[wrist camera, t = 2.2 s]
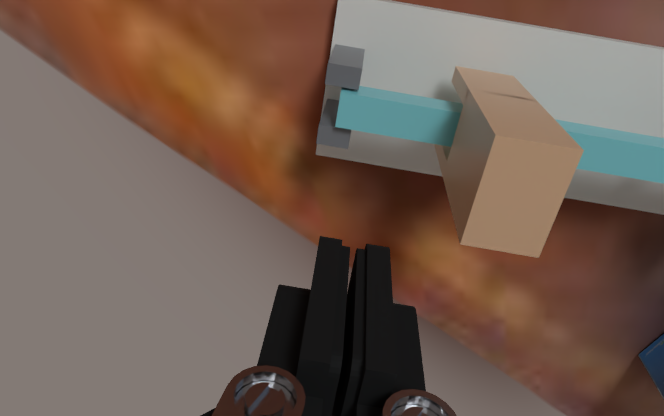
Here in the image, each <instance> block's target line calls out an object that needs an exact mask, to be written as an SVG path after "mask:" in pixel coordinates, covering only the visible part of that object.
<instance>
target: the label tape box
mask: <svg viewBox="0 0 664 416" xmlns="http://www.w3.org/2000/svg"><path fill="white" fill-rule="evenodd" d="M638 356H639V358H640V360H641V361H642V363H643V365H644V367H645V368H646V370H647V372H648V373H649V375H650V377H651V378H652V380H653V382H654V384H655V385H656V387H657V389H658V390H659V392H660V394H661V395H662V397H663V399H664V334H663V335H661V336H660V337H659V338H658V339H657V340H656V341H654V342H653V343H652V344H651V345H650V346H648V347H647V348H646V349H645V350H643V351H642V352H641V353H640V354H639V355H638Z"/></svg>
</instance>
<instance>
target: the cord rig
mask: <svg viewBox="0 0 664 416" xmlns="http://www.w3.org/2000/svg"><path fill="white" fill-rule="evenodd" d="M455 66H459V67H465V68H471V69H476V70H482V71H488V72H494V73H500V74H505V75H511V76H514V77H515V78H516V79H517V80H518V81H519V82H520V83H521V84H522V85H523V86H524V88H525V89H526V90H527V91H528V92H529V93H530V94H531V95H532V96H533V97H534V98H535V99H536V100H537V101H538V102H539V103H540V104H541V105H542V107H543V108H544V109H545V110H546V111H547V112H548V113H549V114H550V115H551V116H552V117H553V118H554V119H555V120H556V121H557V122H558V123H559V124H560V126H561V127H562V128H563V129H564V130H565V131H566V132H567V133H568V134H569V135H570V136H571V137H572V138H573V139H574V140H575V141H576V142H577V143H578V145H579V146H580V147H581V148H582V149H583V150H584V151H583V154H582V156H581V158H580V161H579V163H578V166H577V168H576V170H575V173H574V175H573V178H572V180H571V182H570V185H569V187H568V189H567V192H566V194H565V197H564V198H570V199H576V200H581V201H587V202H593V203H599V204H605V205H610V206H616V207H622V208H628V209H634V210H639V211H645V212H651V213H657V214H663V215H664V47H658V46H653V45H647V44H641V43H635V42H629V41H623V40H618V39H612V38H606V37H600V36H594V35H589V34H583V33H577V32H571V31H565V30H560V29H554V28H548V27H542V26H536V25H531V24H525V23H519V22H513V21H507V20H502V19H496V18H490V17H484V16H478V15H472V14H467V13H461V12H455V11H449V10H443V9H438V8H432V7H426V6H420V5H414V4H409V3H403V2H397V1H391V0H338V4H337V11H336V18H335V25H334V31H333V38H332V45H331V52H330V59H329V61H328V66H327V72H326V79H325V84H326V86H325V93H324V100H323V107H322V114H321V120H320V123H319V128H318V135H317V142H316V144H317V148H316V155H320V156H326V157H332V158H338V159H344V160H349V161H355V162H361V163H367V164H373V165H378V166H384V167H390V168H396V169H402V170H407V171H413V172H419V173H425V174H431V175H436V176H442V173H441V169H440V165H439V161H438V157H437V153H436V149H435V146H434V145H435V144H437V145H443V146H449V147H451V146H452V143H453V139H454V136H455V132H456V129H457V125H458V122H459V118H460V115H461V111H462V108H463V104H462V102H461V100H460V98H459V96H458V94H457V92H456V89H455V87H454V85H453V83H452V78H453V74H454V70H455ZM442 177H443V176H442Z"/></svg>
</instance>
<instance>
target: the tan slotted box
mask: <svg viewBox="0 0 664 416" xmlns="http://www.w3.org/2000/svg"><path fill="white" fill-rule="evenodd" d="M452 83H453V85H454V87H455V89H456V92H457V94H458V96H459V98H460V100H461V102H462V104H463V108H462V111H461V115H460V118H459V122H458V125H457V129H456V132H455V136H454V139H453V143H452V146H451V147H449V146H443V145H437V144H435V145H434V146H435V149H436V153H437V157H438V161H439V165H440V169H441V173H442V176H443V180H444V184H445V188H446V192H447V196H448V200H449V203H450V207H451V211H452V215H453V219H454V223H455V226H456V230H457V234H458V238H459V242H460V244H461V245H467V246H473V247H479V248H485V249H490V250H496V251H502V252H508V253H514V254H519V255H525V256H531V257H537V258H539V256H540V254H541V251H542V249H543V247H544V244H545V242H546V239H547V237H548V235H549V232H550V230H551V227H552V225H553V223H554V220H555V218H556V216H557V213H558V211H559V208H560V206H561V204H562V201H563V199H564V197H565V194H566V192H567V189H568V187H569V185H570V182H571V180H572V178H573V175H574V173H575V170H576V168H577V166H578V163H579V161H580V158H581V156H582V154H583V151H584V150H583V149H582V148H581V147H580V146H579V145H578V143H577V142H576V141H575V140H574V139H573V138H572V137H571V136H570V135H569V134H568V133H567V132H566V131H565V130H564V129H563V128H562V127H561V126H560V124H559V123H558V122H557V121H556V120H555V119H554V118H553V117H552V116H551V115H550V114H549V113H548V112H547V111H546V110H545V109H544V108H543V107H542V105H541V104H540V103H539V102H538V101H537V100H536V99H535V98H534V97H533V96H532V95H531V94H530V93H529V92H528V91H527V90H526V89H525V88H524V86H523V85H522V84H521V83H520V82H519V81H518V80H517V79H516V78H515V77H514V76H511V75H505V74H500V73H494V72H488V71H482V70H476V69H471V68H465V67H459V66H455V70H454V74H453V78H452Z"/></svg>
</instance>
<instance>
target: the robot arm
mask: <svg viewBox="0 0 664 416" xmlns="http://www.w3.org/2000/svg"><path fill="white" fill-rule="evenodd" d="M349 257H350V247H346V246H342V240H340V239H334V238H328V237H322V236H320V239H319V245H318V251H317V257H316V263H315V269H314V275H313V280H312V286H311V290H309V289H303V288H297V287H291V286H285V285H279V286H278V289H277V293H276V296H275V300H274V304H273V308H272V311H271V315H270V319H269V323H268V327H267V330H266V334H265V338H264V342H263V346H262V349H261V353H260V357H259V361H258V364H257V366H254V367H251V368H248V369H245V370H243V371H241V372H240V373H238V374H237V375H236V376H234V377H233V379H232V380H231V381H230V383H229V384H228V386H227V387H226V389H225V391H224V393H223V395H222V397H221V399H220V401H219V403H218V404H217V407H216V408H214V409H212V410H211V411H209V412H207V413H205V414H203V415H201V416H456V414H455V412H454V411H453V410H452V409H451V408H450V407H449V405H448V404H447V403H446V402H444V401H443V400H441V399H440V398H439V397H437V396H435V395H433V394H431V393H428V392H426V389H425V381H424V373H423V365H422V356H421V348H420V339H419V332H418V323H417V314H416V309H415V307H413V306H407V305H401V304H395V303H393V297H392V280H391V263H390V249H389V247H383V246H377V245H371V244H366V247H365V250H364V249H358V248H357V250H356V254H355V259H354V263H353V268H352V273H351V278H350V283H349V288H348V292H347V287H348V286H347V285H348V272H349V271H348V270H349Z"/></svg>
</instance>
